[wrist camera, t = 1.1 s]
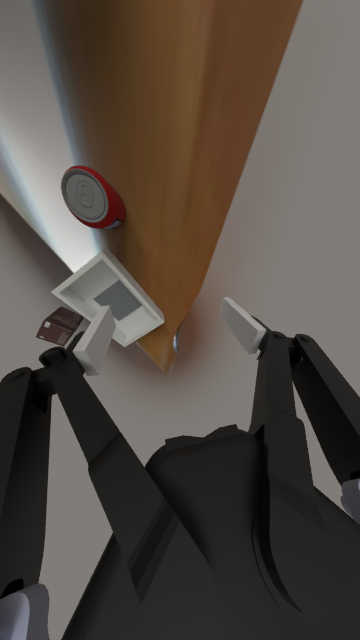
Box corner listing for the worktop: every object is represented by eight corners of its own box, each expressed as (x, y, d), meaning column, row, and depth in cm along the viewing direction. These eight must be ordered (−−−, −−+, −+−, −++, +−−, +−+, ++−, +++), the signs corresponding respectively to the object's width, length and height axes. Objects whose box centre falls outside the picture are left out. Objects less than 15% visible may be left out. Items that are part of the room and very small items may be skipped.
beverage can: (90, 222, 28) (57, 217, 18) (89, 179, 25) (49, 146, 15) (124, 233, 30) (111, 235, 21) (128, 195, 27) (115, 176, 17)
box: (76, 330, 41) (63, 347, 35) (52, 320, 39) (34, 337, 32) (84, 316, 39) (72, 331, 33) (60, 305, 37) (43, 320, 31)
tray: (63, 284, 34) (50, 292, 30) (108, 248, 31) (101, 251, 27) (127, 336, 46) (124, 347, 42) (163, 313, 43) (164, 322, 39)
